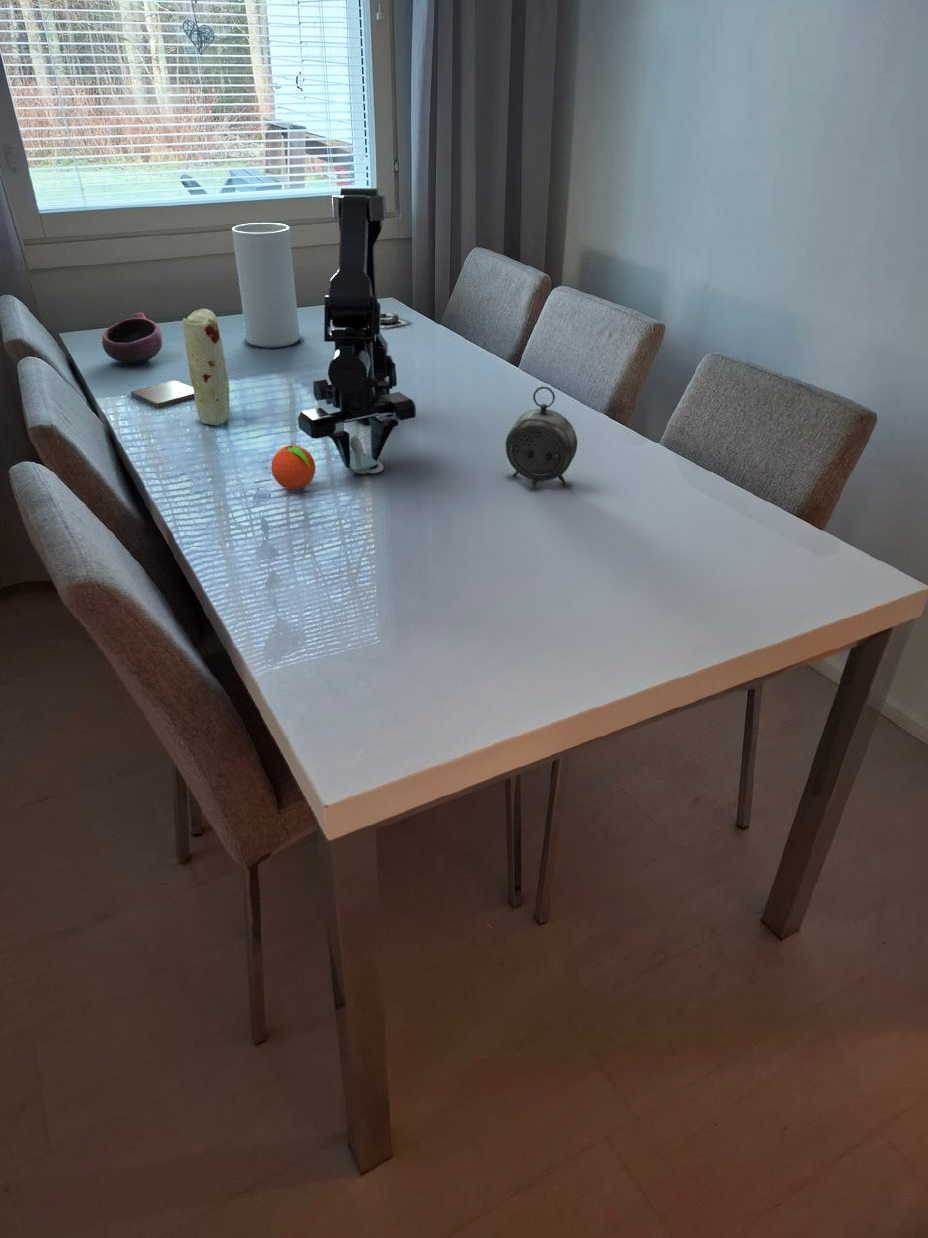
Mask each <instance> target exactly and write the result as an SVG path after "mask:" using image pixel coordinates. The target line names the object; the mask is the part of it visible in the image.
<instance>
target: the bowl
mask: <svg viewBox="0 0 928 1238" xmlns="http://www.w3.org/2000/svg"><path fill="white" fill-rule="evenodd" d="M101 339H102V340H101V344H102V349H103V351H104V352H105V354H106V355H107V356H109V357H110V358H111V359H113V360H116V361H118V362H121V363H125V364H126V363H127V364H139V363H145V362H147V361H149V360H151V359H153V358H154V357H155V356H157V355H158V354H159V353H160V351H161V350H162V347H163V344H164V343H163V334H162V331H161V329H160V327H159V325H158V324H157V323H156V322H154V321H152V320H150V319H148V318H147V316H146V315H145V314H144V313H143V312H136V313H134V314H133V316H132V317H131V318H127V319H124V320H122V321H119V322H117V323H115V324H113V325H111V326H109V327H108V328H106V330H105V331H104V333H103V334H102V338H101Z"/></svg>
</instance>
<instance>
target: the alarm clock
mask: <svg viewBox="0 0 928 1238" xmlns="http://www.w3.org/2000/svg"><path fill="white" fill-rule="evenodd" d="M544 389H545V390H547V391H549V392H550V393H551V395H552V401H551V402H550V404H548V405H547V404H546V403H541V404H540V403H538V402H537V400H536V395H537V392H539V391H540V390H544ZM532 398H533V402H534V403H535V405H536V406H538V407H540V408H534V409H531V410H528V411H525V412H524V413H523V414H521V415H520V416H519V417H518V418H517V419H516V421H515V422H514V424H513V425H512V427H511V429H510V430H509V431H508V433H507V436H506V440H505V454H506V457H507V459H508V461H509V463H510V465H511V467H512V468H513V469H514V470H515V471H514V473H512V477H513V478H516V477H517V475H519V474H520V475H521V476H522V477H524V478H526V479H528V480H532V484H531V488H532V489H534V490H535V489H536V488H537V486H538V485H537V484H538V482H549V481H552V480H555V479H558V480H559V481H561V483H562V485H563V486H566V485H567V481H566V480H565V478H564V477H565V476H563V475H564V473H566V471H567V470H568V469H569V467H570V465H571V463H572V462H573V460H574V458H575V456H576V453H577V449H578V437H577V433H576V431H575V429H574V427H573V425H572V424H571V422H570V421H569V420H568V419H567V418H566V417H565V416H563V415H562V414H561V413H559V412H557V411H555V410H552V409H548V408H549V407H551V406H552V405H554V403H555V400H556V395H555V392H554V391H553V390H552V388H550V387H548V386H545V385H544V386H539V387H537V388H536V389H535V391H533V396H532Z"/></svg>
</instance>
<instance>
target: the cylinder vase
mask: <svg viewBox="0 0 928 1238" xmlns="http://www.w3.org/2000/svg"><path fill="white" fill-rule="evenodd" d="M231 232H232V237H233V238H232V240H233V246H234V247H233V248H234V255H235V263H236V270H237V278H238V285H239V286H238V287H239V293H240V300H241V307H242V308H241V309H242V316H243V323H244V331H245V332H244V333H245V338H246V341H247V343H248V344H249V345H251V346H254V347H257V348H265V349H267V348H269V349H273V348H284V347H289V346H291V345H294V344H296V343H297V342H298V341H299V340H300V338H301V337H300V335H301V334H300V324H299V315H298V305H297V293H296V284H295V283H296V282H295V273H294V263H293V253H292V242H291V230H290V226H289V225H287V224H283V223H277V222H254V223H253V222H252V223H245V224H244V223H243V224H238V225H236V226H235V225H234V226H233V227H232V228H231Z"/></svg>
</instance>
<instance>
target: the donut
mask: <svg viewBox="0 0 928 1238" xmlns="http://www.w3.org/2000/svg"><path fill="white" fill-rule="evenodd" d="M408 324H409V322H406V321H404V320H401V319H399V315H398V313H393V312H384V313H380V329H384V330H385V329H389V328H394V327H399V326H404V325H408Z"/></svg>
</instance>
